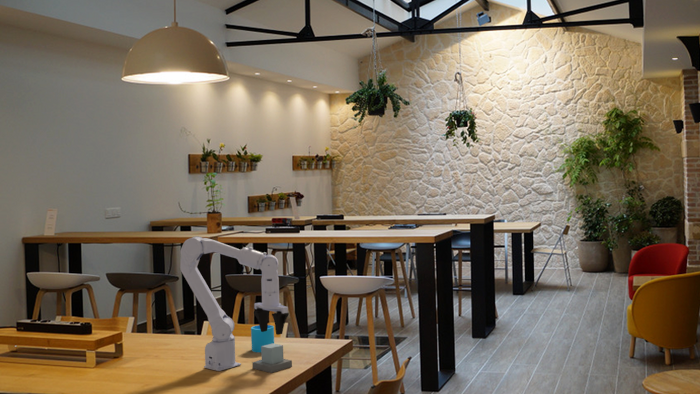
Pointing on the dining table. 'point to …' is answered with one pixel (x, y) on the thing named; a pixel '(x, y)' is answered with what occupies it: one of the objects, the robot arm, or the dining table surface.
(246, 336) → the dining table surface
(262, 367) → the slate base
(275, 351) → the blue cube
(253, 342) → the mug
